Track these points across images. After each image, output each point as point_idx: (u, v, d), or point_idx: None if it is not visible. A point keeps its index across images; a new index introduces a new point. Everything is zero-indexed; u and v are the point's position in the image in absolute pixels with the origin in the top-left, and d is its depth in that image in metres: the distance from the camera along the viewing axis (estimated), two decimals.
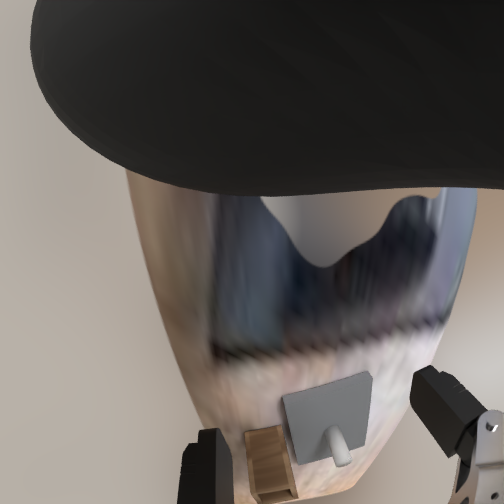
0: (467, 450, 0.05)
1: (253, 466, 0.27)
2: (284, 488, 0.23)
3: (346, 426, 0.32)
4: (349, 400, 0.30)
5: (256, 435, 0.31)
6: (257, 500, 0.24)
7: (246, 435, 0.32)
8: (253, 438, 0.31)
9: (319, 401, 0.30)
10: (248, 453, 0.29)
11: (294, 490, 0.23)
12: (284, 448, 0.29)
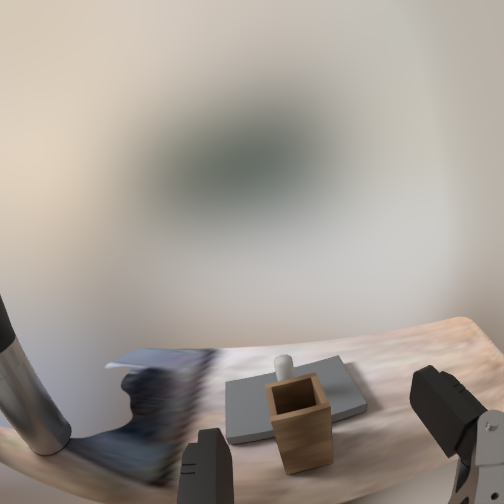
0: (467, 450, 0.05)
1: None
2: (267, 392, 0.24)
3: None
4: (246, 391, 0.36)
5: None
6: (305, 411, 0.20)
7: (285, 470, 0.23)
8: None
9: (234, 413, 0.32)
10: (281, 456, 0.22)
11: (281, 382, 0.25)
12: None
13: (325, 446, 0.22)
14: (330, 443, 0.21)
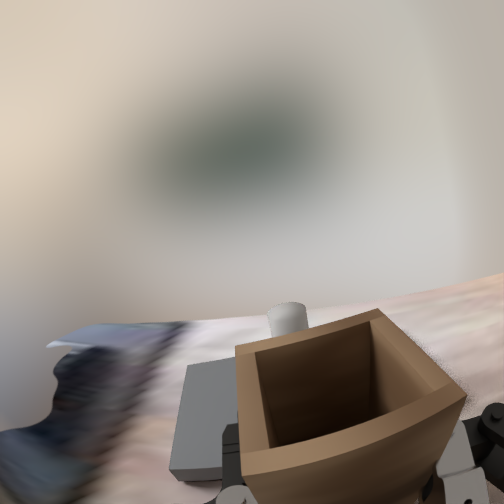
0: None
1: None
2: (242, 366, 0.08)
3: None
4: (219, 382, 0.20)
5: None
6: (383, 430, 0.04)
7: None
8: None
9: (192, 420, 0.16)
10: None
11: (283, 338, 0.09)
12: None
13: None
14: (415, 497, 0.06)
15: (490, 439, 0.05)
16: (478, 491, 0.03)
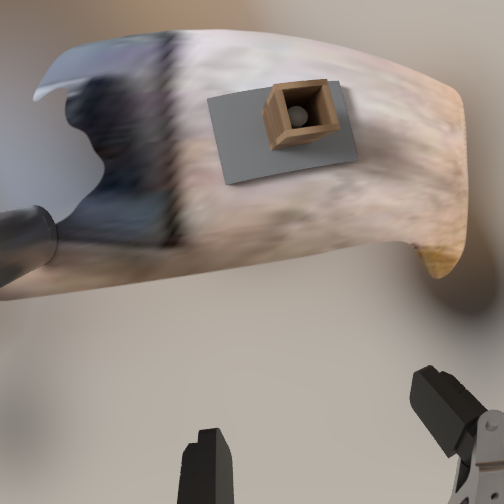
0: (467, 450, 0.05)
1: (277, 136, 0.26)
2: (279, 95, 0.22)
3: None
4: (235, 116, 0.31)
5: (268, 136, 0.31)
6: (317, 130, 0.23)
7: (270, 147, 0.32)
8: (270, 139, 0.31)
9: (227, 149, 0.32)
10: (275, 143, 0.29)
11: (291, 83, 0.21)
12: (265, 104, 0.27)
13: (314, 139, 0.29)
14: (319, 138, 0.28)
15: None
16: None
